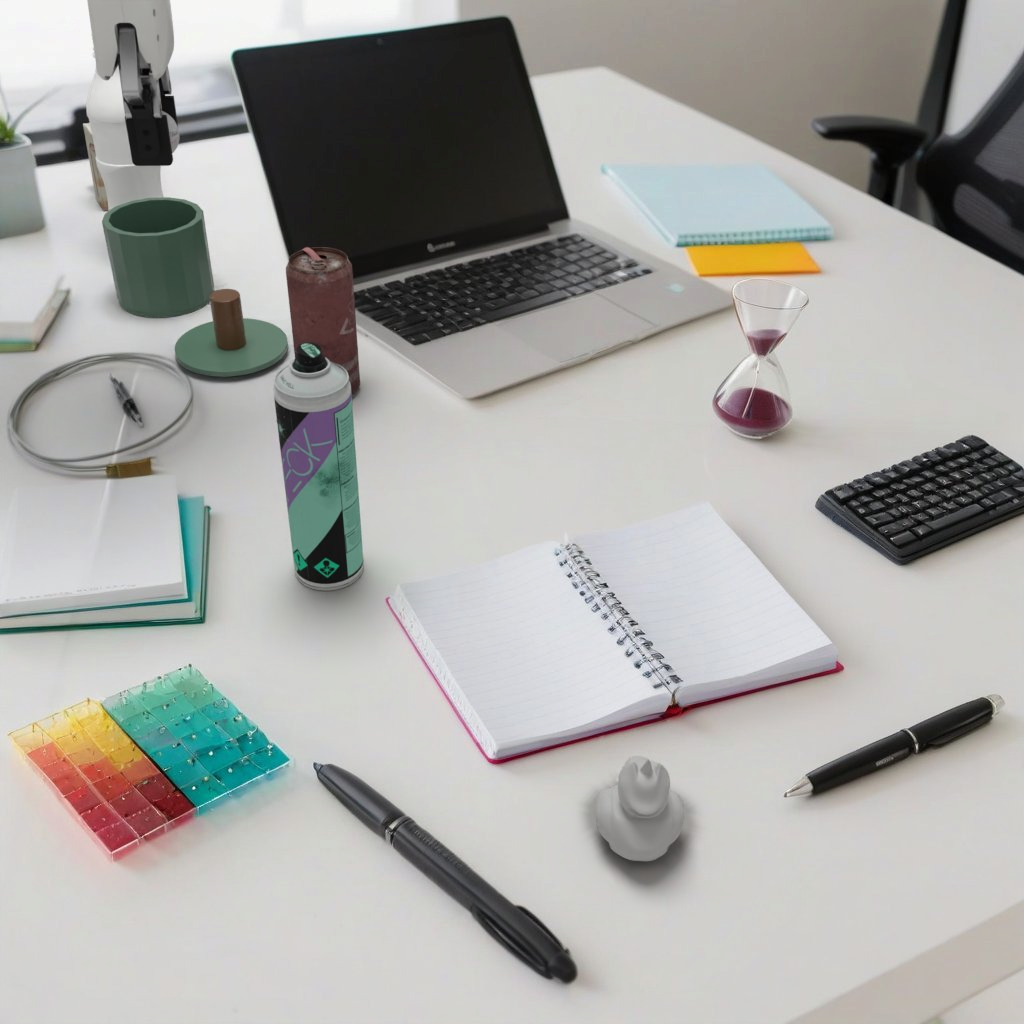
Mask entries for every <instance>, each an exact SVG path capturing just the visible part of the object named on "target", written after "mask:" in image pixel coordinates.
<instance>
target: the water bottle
mask: <svg viewBox="0 0 1024 1024" xmlns="http://www.w3.org/2000/svg"><path fill="white" fill-rule="evenodd" d="M91 40H92V41H93V38H92V37H91ZM92 51H93V52H92V57H93V58H94V59H95V53H94V46H93V47H92ZM85 107H86V108H85V109H86V110H85V111H86V117H87V118H88V121H89V122H88V123H90V127H91V132H92V137H93V143H94V148H95V153H96V157H95V159H96V164H97V168H98V170H99V172H100V174H101V177H102V179H103V182H104V185H105V188H106V193H107V199H108V210H107V212H108V211H110V210H111V209H112V208H114V207H116V206H118V205H121V204H124V203H127V202H130V201H134V200H139V199H145V198H162V197H165V196H164V192H163V186H162V178H161V176H162V175H161V170H162V169H161V167H162V166H136V165H134V164H133V162H132V157H131V151H130V145H129V140H128V134H127V128H126V122H125V112H124V104H123V97H122V89H121V82H120V74H119V66H117V68H116V70H115V72H114V74H113V76H111V77H110V79H109V80H103V79H102V78H101V77H100V76H99V75H98V73H97V67H96V66H95V70H94V75H93V78H92V82H91V84H90V87H89V90H88V94H87V97H86V105H85Z"/></svg>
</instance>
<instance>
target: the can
mask: <svg viewBox="0 0 1024 1024" xmlns="http://www.w3.org/2000/svg"><path fill="white" fill-rule="evenodd" d="M348 257H349V256H348V255H347V254H346V252H345V251H342V250H340V249H337V248H334V247H324V246H319V247H318V246H316V247H315V246H314V247H309V246H306V247H304V248H302V249H301V250H298V251H296V252H294V253H293V254H290V256H289V258H288V262H287V264H286V266H285V277H286V286H287V287H286V288H287V296H288V304H289V314H290V325H291V333H292V343H293V353H294V359H295V358H296V357H297V347H298V346H299V345H301V344H303V343H315V344H318V345H319V346H320V347H321V351H322V355H323V356H324V357H326V358H327V359H328V360H329V361H330V362H334V363H336V364H339V365H340V366H342V367H343V368H344V369H346V371H347V372H348V375H349V381H350V384H351V394H352V397H354V396H355V395H356V394H357V392H358V390H359V388H360V387H361V374H360V362H359V361H360V360H359V348H358V347H359V346H358V333H357V332H358V331H357V320H356V319H357V318H356V301H355V289H354V273H353V264H352V262H351V261H350V259H349V258H348Z"/></svg>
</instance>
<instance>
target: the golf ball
mask: <svg viewBox="0 0 1024 1024" xmlns="http://www.w3.org/2000/svg"><path fill="white" fill-rule="evenodd" d="M162 115H167V121H168V128H169V134H170V141H171V148H172V154H174V153H175V151H176V150H177V148H178V146H179V144H180V141H179V139H180V140H181V137H180V136H181V135H180V130H179V125H178V126H177V124H176V122H175V121H174V119H173V118H172V117H171V116H170V115H169V114H167V113H165V112H164V111H162Z"/></svg>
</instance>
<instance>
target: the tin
mask: <svg viewBox="0 0 1024 1024" xmlns="http://www.w3.org/2000/svg"><path fill="white" fill-rule="evenodd" d="M101 225H102V230H103V235H104V239H105V244H106V249H107V254H108V259H109V263H110V268H111V273H112V277H113V278H112V279H113V283H114V289H115V294H116V298H117V300H118V303H119V306H120V307H121V308H122V309H123V310H124V311H125V312H127V313H129V314H132V315H135V316H138V317H144V318H158V319H159V318H161V319H162V318H171V317H178V316H183V315H187V314H191V313H193V312H196V311H198V310H200V309H202V308H204V307H205V306H207V305H208V304H210V298H209V296H210V294H211V293H212V292H214V291H215V283H214V275H213V268H212V262H211V261H212V260H211V256H210V248H209V240H208V234H207V227H206V220H205V213H204V209H202V208H201V207H200V206H199V205H198V203H195V202H193V201H190V200H187V199H184V198H176V197H167V196H166V197H165V196H164V197H162V198H145V199H139V200H134V201H130V202H127V203H124V204H121V205H118V206H116V207H114V208H112V209H111V210H110V211H108V210H107V212H105V213H104V215H103V217H102V219H101Z"/></svg>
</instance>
